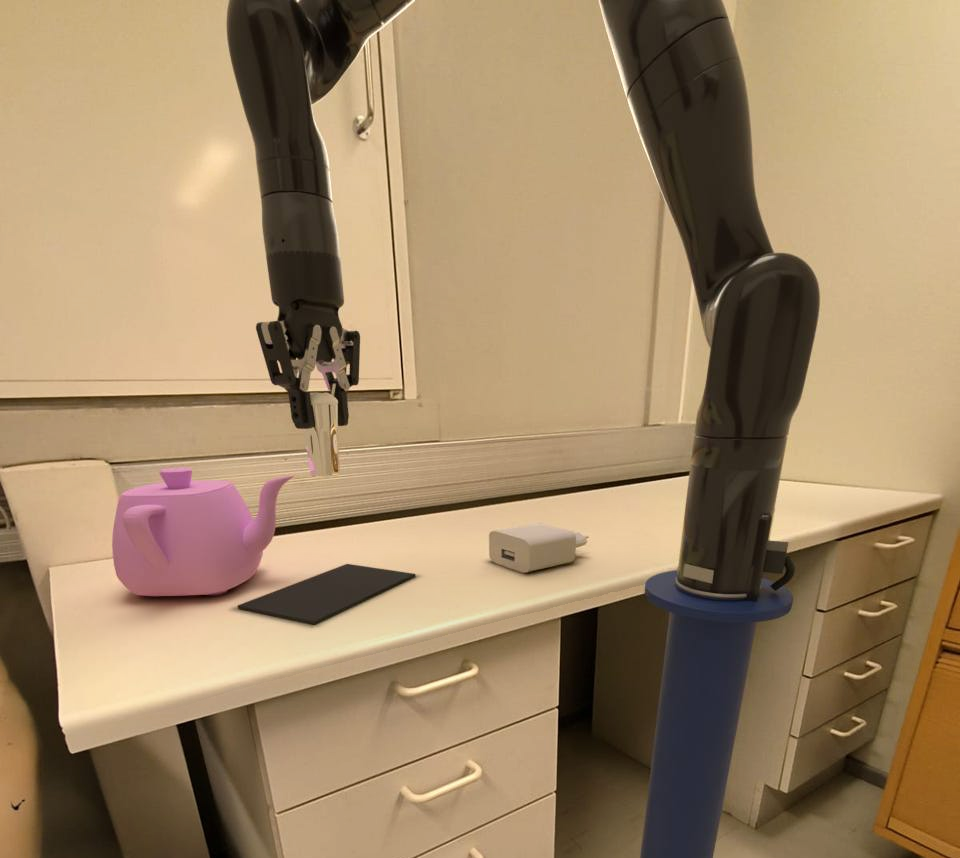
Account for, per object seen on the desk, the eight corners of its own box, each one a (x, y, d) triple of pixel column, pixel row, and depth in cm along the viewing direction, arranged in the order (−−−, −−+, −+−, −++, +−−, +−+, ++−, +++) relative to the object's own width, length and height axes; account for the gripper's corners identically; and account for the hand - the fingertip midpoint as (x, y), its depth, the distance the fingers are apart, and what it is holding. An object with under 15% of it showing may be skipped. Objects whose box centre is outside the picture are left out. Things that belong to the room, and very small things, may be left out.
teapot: (81, 618, 67) (40, 484, 61) (168, 567, 86) (143, 461, 80) (280, 614, 67) (259, 480, 61) (322, 564, 87) (309, 458, 81)
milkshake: (357, 473, 71) (349, 383, 67) (326, 478, 67) (315, 383, 63) (330, 471, 73) (320, 383, 69) (297, 476, 69) (285, 383, 65)
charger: (604, 557, 88) (528, 575, 80) (563, 545, 95) (488, 560, 87) (607, 526, 86) (529, 541, 78) (564, 516, 93) (488, 529, 85)
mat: (415, 576, 80) (415, 573, 80) (314, 624, 64) (313, 621, 64) (347, 566, 85) (347, 563, 85) (237, 608, 69) (237, 605, 69)
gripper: (277, 236, 53) (302, 431, 60) (374, 262, 65) (386, 424, 72) (221, 246, 57) (251, 430, 63) (323, 269, 68) (338, 423, 75)
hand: (322, 426), depth 68 cm, fingers closed on milkshake, 5 cm apart
